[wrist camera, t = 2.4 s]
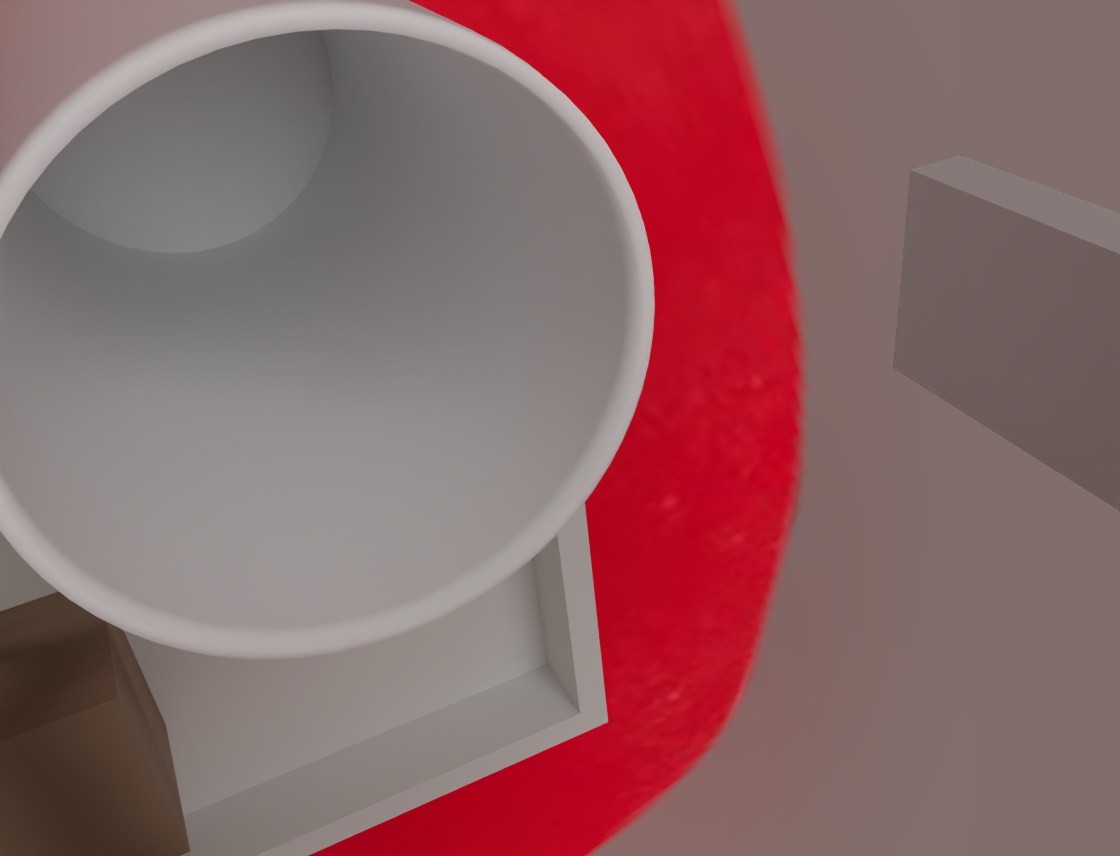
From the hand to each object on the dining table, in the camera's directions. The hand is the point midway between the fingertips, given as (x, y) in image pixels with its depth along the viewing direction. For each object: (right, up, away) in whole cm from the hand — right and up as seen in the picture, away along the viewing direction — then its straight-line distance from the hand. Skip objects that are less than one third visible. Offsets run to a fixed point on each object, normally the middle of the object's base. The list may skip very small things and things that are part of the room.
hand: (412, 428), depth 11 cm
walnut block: (-13, -7, +19) cm, 24 cm away
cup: (-8, +8, +14) cm, 18 cm away
